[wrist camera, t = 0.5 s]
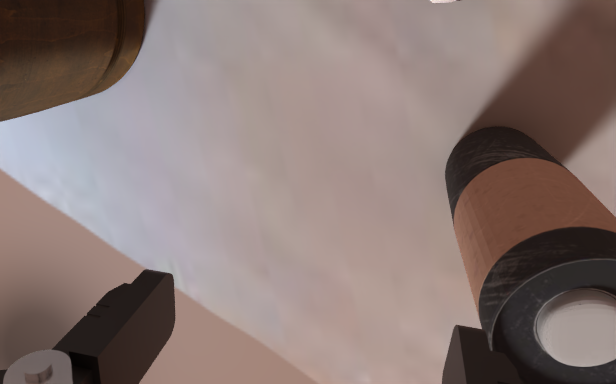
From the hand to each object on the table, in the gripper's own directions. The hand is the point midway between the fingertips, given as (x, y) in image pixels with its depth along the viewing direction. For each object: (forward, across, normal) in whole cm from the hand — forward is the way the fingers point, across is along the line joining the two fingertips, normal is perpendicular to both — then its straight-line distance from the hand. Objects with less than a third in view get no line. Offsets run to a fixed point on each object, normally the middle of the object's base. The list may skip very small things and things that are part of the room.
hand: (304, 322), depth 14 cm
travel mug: (+26, -10, +4) cm, 28 cm away
